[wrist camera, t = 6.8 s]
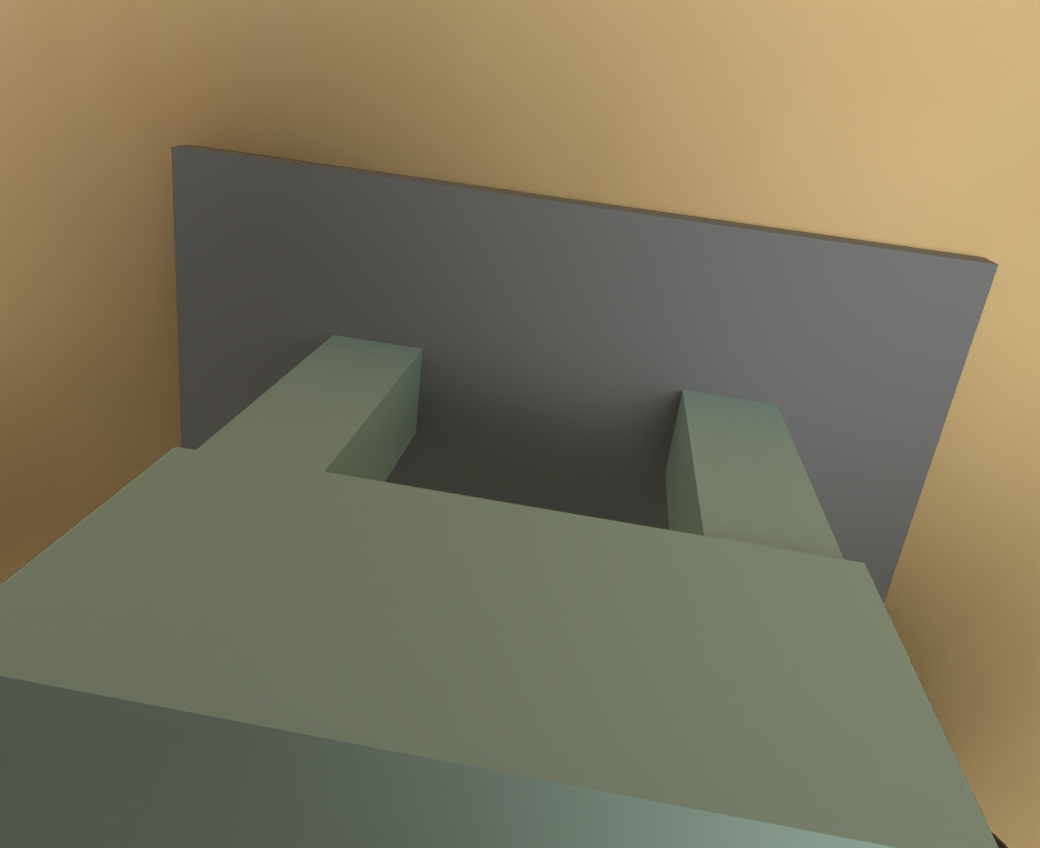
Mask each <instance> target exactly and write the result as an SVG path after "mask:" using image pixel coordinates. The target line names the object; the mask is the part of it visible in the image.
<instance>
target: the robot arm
mask: <svg viewBox="0 0 1040 848" xmlns="http://www.w3.org/2000/svg"><path fill="white" fill-rule="evenodd" d="M991 833H992V832H991ZM992 835H993V837H994V839H995V841H996V843H997V845H998V847H999V848H1008V847H1007V846H1006V845H1005V844H1004V843H1003V842H1002V841H1001V840H1000V839H999V838H998V837H997V836H996V835H995V834H994V833H992Z"/></svg>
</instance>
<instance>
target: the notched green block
mask: <svg viewBox="0 0 1040 848" xmlns="http://www.w3.org/2000/svg"><path fill="white" fill-rule="evenodd" d="M422 352H423V349H421V348H414V347H408V346H402V345H395V344H389V343H382V342H376V341H370V340H363V339H357V338H351V337H344V336H338V335H333V336H332V337H331V338H329V339H328V340H327V341H326V342H325V343H323V344H322V345H321V346H320V347H319V348H317V349H316V350H315V351H314V352H313V353H311V354H310V355H309V356H308V357H307V358H305V359H304V360H303V361H302V362H301V363H299V364H298V365H297V366H296V367H295V368H293V369H292V370H291V371H290V372H289V373H288V374H286V375H285V376H284V377H283V378H282V379H280V380H279V381H278V382H277V383H276V384H274V385H273V386H272V387H271V388H270V389H268V390H267V391H266V392H265V393H264V394H262V395H261V396H260V397H259V398H258V399H256V400H255V401H254V402H253V403H252V404H250V405H249V406H248V407H247V408H246V409H245V410H243V411H242V412H241V413H240V414H239V415H237V416H236V417H235V418H234V419H233V420H231V421H230V422H229V423H228V424H227V425H225V426H224V427H223V428H222V429H221V430H219V431H218V432H217V433H216V434H215V435H213V436H212V437H211V438H210V439H209V440H207V441H206V442H205V443H204V444H203V445H202V446H200V447H199V448H198V449H197V450H193V449H187V448H181V447H173V448H172V449H171V450H170V451H168V452H167V453H166V454H165V455H163V456H162V457H161V458H160V459H158V460H157V461H156V462H154V463H153V464H152V465H151V466H149V467H148V468H147V469H146V470H144V471H143V472H142V473H141V474H139V475H138V476H137V477H136V478H134V479H133V480H132V481H130V482H129V483H128V484H127V485H125V486H124V487H123V488H122V489H120V490H119V491H118V492H117V493H115V494H114V495H113V496H112V497H110V498H109V499H108V500H106V501H105V502H104V503H103V504H101V505H100V506H99V507H98V508H96V509H95V510H94V511H93V512H91V513H90V514H89V515H87V516H86V517H85V518H84V519H82V520H81V521H80V522H79V523H77V524H76V525H75V526H74V527H72V528H71V529H70V530H69V531H67V532H66V533H65V534H63V535H62V536H61V537H60V538H58V539H57V540H56V541H55V542H53V543H52V544H51V545H50V546H48V547H47V548H46V549H44V550H43V551H42V552H41V553H39V554H38V555H37V556H36V557H34V558H33V559H32V560H31V561H29V562H28V563H27V564H26V565H24V566H23V567H22V568H20V569H19V570H18V571H17V572H15V573H14V574H13V575H12V576H10V577H9V578H8V579H7V580H5V581H4V582H3V583H1V584H0V848H999V847H998V845H997V843H996V841H995V839H994V837H993V835H992V833H991V830H990V828H989V826H988V824H987V822H986V820H985V818H984V816H983V813H982V811H981V809H980V807H979V805H978V803H977V801H976V799H975V797H974V794H973V792H972V790H971V788H970V786H969V784H968V782H967V780H966V777H965V775H964V773H963V771H962V769H961V767H960V765H959V763H958V760H957V758H956V756H955V754H954V752H953V750H952V748H951V746H950V743H949V741H948V739H947V737H946V735H945V733H944V731H943V729H942V726H941V724H940V722H939V720H938V718H937V716H936V714H935V712H934V709H933V707H932V705H931V703H930V701H929V699H928V697H927V695H926V692H925V690H924V688H923V686H922V684H921V682H920V680H919V678H918V676H917V673H916V671H915V669H914V667H913V665H912V663H911V661H910V659H909V656H908V654H907V652H906V650H905V648H904V646H903V644H902V642H901V639H900V637H899V635H898V633H897V631H896V629H895V627H894V625H893V622H892V620H891V618H890V616H889V614H888V612H887V610H886V608H885V605H884V603H883V601H882V599H881V597H880V595H879V593H878V591H877V588H876V586H875V584H874V582H873V580H872V578H871V576H870V574H869V571H868V569H867V567H866V565H865V563H862V562H856V561H850V560H844V558H843V556H842V554H841V551H840V549H839V547H838V544H837V542H836V540H835V537H834V535H833V533H832V530H831V528H830V526H829V523H828V521H827V519H826V517H825V514H824V512H823V510H822V507H821V505H820V503H819V500H818V498H817V496H816V493H815V491H814V489H813V486H812V484H811V482H810V479H809V477H808V475H807V473H806V470H805V468H804V466H803V463H802V461H801V459H800V456H799V454H798V452H797V449H796V447H795V445H794V442H793V440H792V438H791V435H790V433H789V431H788V429H787V426H786V424H785V422H784V419H783V417H782V415H781V412H780V410H779V408H778V405H777V404H771V403H764V402H758V401H752V400H745V399H739V398H733V397H726V396H720V395H713V394H707V393H701V392H694V391H688V390H682V395H681V400H680V405H679V410H678V414H677V419H676V424H675V429H674V434H673V438H672V443H671V448H670V453H669V458H668V462H667V467H666V472H665V478H666V492H667V506H668V520H669V530H666V529H660V528H654V527H649V526H643V525H637V524H631V523H625V522H619V521H613V520H607V519H601V518H595V517H589V516H583V515H577V514H572V513H566V512H560V511H554V510H548V509H542V508H536V507H530V506H524V505H518V504H512V503H506V502H501V501H495V500H489V499H483V498H477V497H471V496H465V495H459V494H453V493H447V492H441V491H435V490H429V489H424V488H418V487H412V486H406V485H400V484H394V483H388V482H385V481H386V479H387V478H388V476H389V475H390V473H391V471H392V470H393V468H394V467H395V465H396V464H397V462H398V460H399V459H400V457H401V456H402V454H403V452H404V451H405V449H406V448H407V446H408V444H409V443H410V441H411V440H412V438H413V437H414V435H415V433H416V426H417V414H418V401H419V389H420V377H421V364H422Z"/></svg>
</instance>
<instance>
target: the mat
mask: <svg viewBox="0 0 1040 848" xmlns="http://www.w3.org/2000/svg"><path fill="white" fill-rule="evenodd" d="M172 173H173V202H174V230H175V258H176V287H177V315H178V344H179V372H180V400H181V429H182V448H187V449H193V450H197V449H198V448H199V447H200V446H202V445H203V444H204V443H205V442H206V441H207V440H209V439H210V438H211V437H212V436H213V435H215V434H216V433H217V432H218V431H219V430H221V429H222V428H223V427H224V426H225V425H227V424H228V423H229V422H230V421H231V420H233V419H234V418H235V417H236V416H237V415H239V414H240V413H241V412H242V411H243V410H245V409H246V408H247V407H248V406H249V405H250V404H252V403H253V402H254V401H255V400H256V399H258V398H259V397H260V396H261V395H262V394H264V393H265V392H266V391H267V390H268V389H270V388H271V387H272V386H273V385H274V384H276V383H277V382H278V381H279V380H280V379H282V378H283V377H284V376H285V375H286V374H288V373H289V372H290V371H291V370H292V369H293V368H295V367H296V366H297V365H298V364H299V363H301V362H302V361H303V360H304V359H305V358H307V357H308V356H309V355H310V354H311V353H313V352H314V351H315V350H316V349H317V348H319V347H320V346H321V345H322V344H323V343H325V342H326V341H327V340H328V339H329V338H331V337H332V336H333V335H338V336H344V337H351V338H357V339H363V340H370V341H376V342H382V343H389V344H395V345H402V346H408V347H414V348H421V349H423V352H422V364H421V377H420V389H419V401H418V414H417V426H416V433H415V435H414V437H413V438H412V440H411V441H410V443H409V444H408V446H407V448H406V449H405V451H404V452H403V454H402V456H401V457H400V459H399V460H398V462H397V464H396V465H395V467H394V468H393V470H392V471H391V473H390V475H389V476H388V478H387V479H386V481H385V482H388V483H394V484H400V485H406V486H412V487H418V488H424V489H429V490H435V491H441V492H447V493H453V494H459V495H465V496H471V497H477V498H483V499H489V500H495V501H501V502H506V503H512V504H518V505H524V506H530V507H536V508H542V509H548V510H554V511H560V512H566V513H572V514H577V515H583V516H589V517H595V518H601V519H607V520H613V521H619V522H625V523H631V524H637V525H643V526H649V527H654V528H660V529H666V530H669V520H668V506H667V492H666V478H665V472H666V467H667V462H668V458H669V453H670V448H671V443H672V438H673V434H674V429H675V424H676V419H677V414H678V410H679V405H680V400H681V395H682V390H688V391H694V392H701V393H707V394H713V395H720V396H726V397H733V398H739V399H745V400H752V401H758V402H764V403H771V404H777V405H778V408H779V410H780V412H781V415H782V417H783V419H784V422H785V424H786V426H787V429H788V431H789V433H790V435H791V438H792V440H793V442H794V445H795V447H796V449H797V452H798V454H799V456H800V459H801V461H802V463H803V466H804V468H805V470H806V473H807V475H808V477H809V479H810V482H811V484H812V486H813V489H814V491H815V493H816V496H817V498H818V500H819V503H820V505H821V507H822V510H823V512H824V514H825V517H826V519H827V521H828V523H829V526H830V528H831V530H832V533H833V535H834V537H835V540H836V542H837V544H838V547H839V549H840V551H841V554H842V556H843V558H844V560H850V561H856V562H862V563H865V565H866V567H867V569H868V571H869V574H870V576H871V578H872V580H873V582H874V584H875V586H876V588H877V591H878V593H879V595H880V597H881V599H882V601H883V603H884V600H885V597H886V594H887V591H888V588H889V585H890V582H891V579H892V576H893V573H894V570H895V567H896V564H897V561H898V558H899V555H900V552H901V549H902V547H903V544H904V541H905V538H906V535H907V532H908V529H909V526H910V523H911V520H912V517H913V514H914V511H915V508H916V505H917V502H918V499H919V496H920V493H921V490H922V488H923V485H924V482H925V479H926V476H927V473H928V470H929V467H930V464H931V461H932V458H933V455H934V452H935V449H936V446H937V443H938V440H939V437H940V434H941V432H942V429H943V426H944V423H945V420H946V417H947V414H948V411H949V408H950V405H951V402H952V399H953V396H954V393H955V390H956V387H957V384H958V381H959V378H960V375H961V373H962V370H963V367H964V364H965V361H966V358H967V355H968V352H969V349H970V346H971V343H972V340H973V337H974V334H975V331H976V328H977V325H978V322H979V319H980V316H981V314H982V311H983V308H984V305H985V302H986V299H987V296H988V293H989V290H990V287H991V284H992V281H993V278H994V275H995V272H996V269H997V266H998V264H996V263H994V262H992V261H990V260H988V259H986V258H981V257H974V256H967V255H960V254H953V253H946V252H939V251H932V250H925V249H918V248H911V247H904V246H897V245H889V244H882V243H875V242H868V241H861V240H854V239H847V238H840V237H833V236H826V235H819V234H812V233H805V232H798V231H791V230H784V229H777V228H770V227H762V226H755V225H748V224H741V223H734V222H727V221H720V220H713V219H706V218H699V217H692V216H685V215H678V214H671V213H664V212H657V211H650V210H643V209H635V208H628V207H621V206H614V205H607V204H600V203H593V202H586V201H579V200H572V199H565V198H558V197H551V196H544V195H537V194H530V193H523V192H515V191H508V190H501V189H494V188H487V187H480V186H473V185H466V184H459V183H452V182H445V181H438V180H431V179H424V178H417V177H410V176H403V175H396V174H388V173H381V172H374V171H367V170H360V169H353V168H346V167H339V166H332V165H325V164H318V163H311V162H304V161H297V160H290V159H283V158H276V157H269V156H261V155H254V154H247V153H240V152H233V151H226V150H219V149H212V148H205V147H198V146H191V145H184V146H177V147H172Z"/></svg>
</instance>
